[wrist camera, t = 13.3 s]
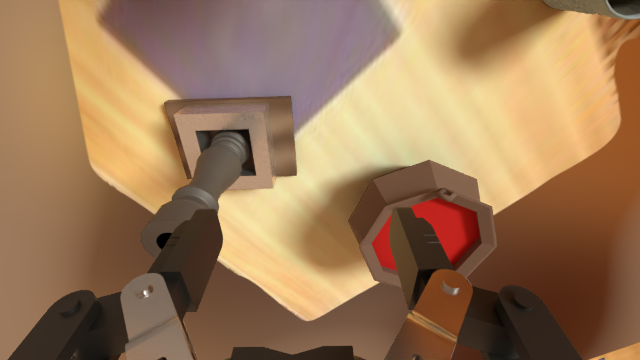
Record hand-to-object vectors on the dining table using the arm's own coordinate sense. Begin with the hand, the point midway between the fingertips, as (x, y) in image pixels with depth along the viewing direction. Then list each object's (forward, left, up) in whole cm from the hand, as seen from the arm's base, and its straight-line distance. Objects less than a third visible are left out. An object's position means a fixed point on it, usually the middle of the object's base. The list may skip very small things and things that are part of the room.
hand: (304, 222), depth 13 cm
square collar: (+10, -14, -35) cm, 39 cm away
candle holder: (+10, -14, -36) cm, 39 cm away
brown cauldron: (+24, +17, -37) cm, 48 cm away
